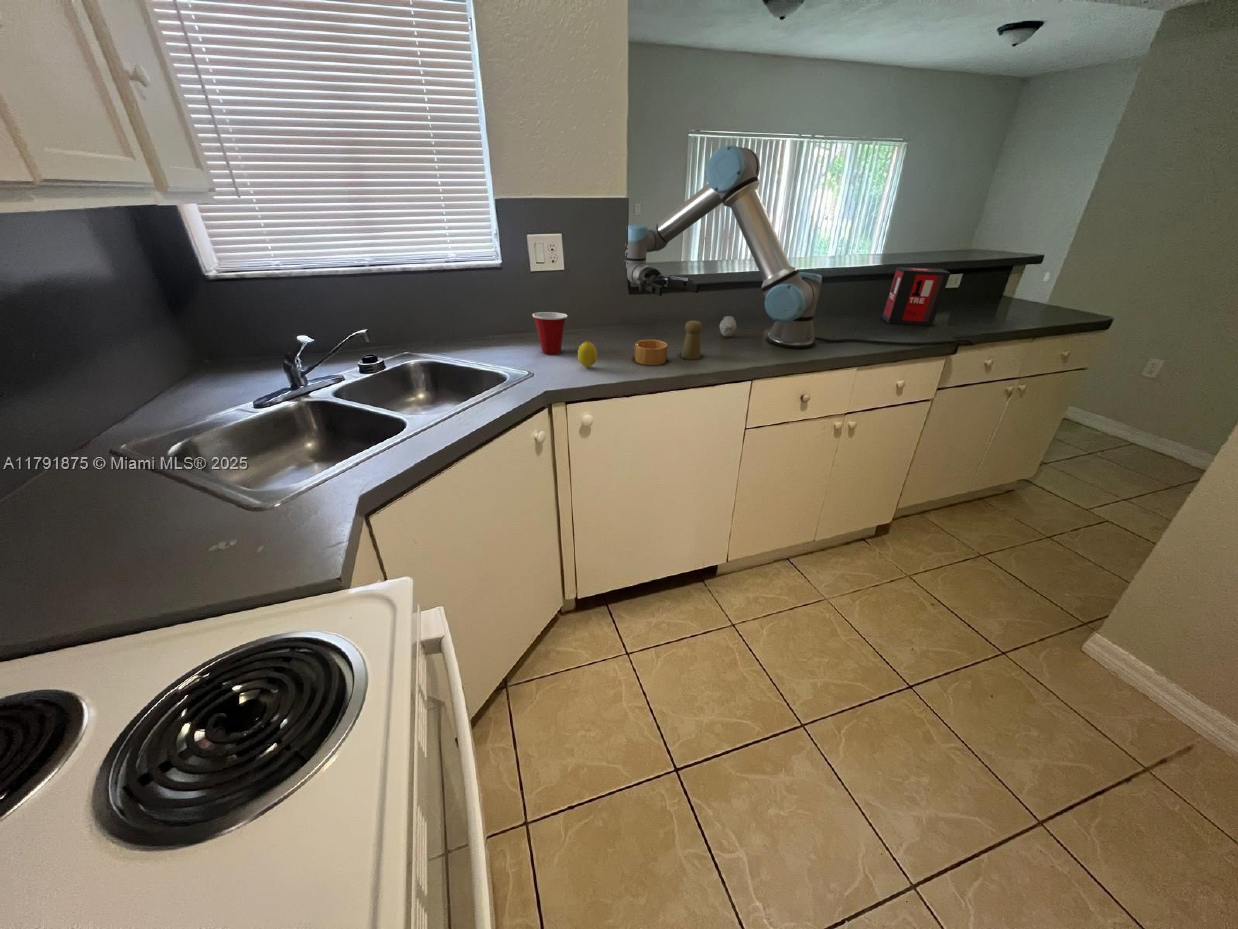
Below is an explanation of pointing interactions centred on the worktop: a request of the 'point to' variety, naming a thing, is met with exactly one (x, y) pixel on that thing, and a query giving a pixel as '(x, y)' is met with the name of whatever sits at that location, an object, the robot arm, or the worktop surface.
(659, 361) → the wooden cup
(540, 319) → the plastic cup
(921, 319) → the cleaning product box
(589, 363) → the lemon
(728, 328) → the crumpled white ball
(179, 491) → the worktop surface
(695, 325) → the wooden peg doll
